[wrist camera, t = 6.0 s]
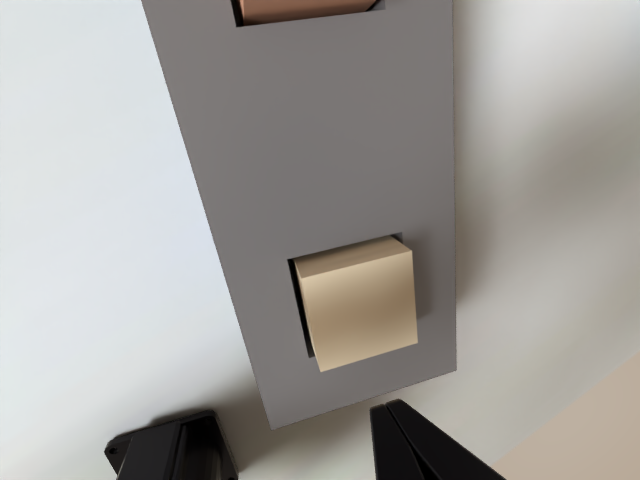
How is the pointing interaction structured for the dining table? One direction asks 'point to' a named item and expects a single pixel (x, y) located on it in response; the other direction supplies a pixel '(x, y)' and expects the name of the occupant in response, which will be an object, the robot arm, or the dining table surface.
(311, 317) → the ash key
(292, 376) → the key housing
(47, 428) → the dining table surface
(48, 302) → the dining table surface
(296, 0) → the terracotta key
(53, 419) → the dining table surface
